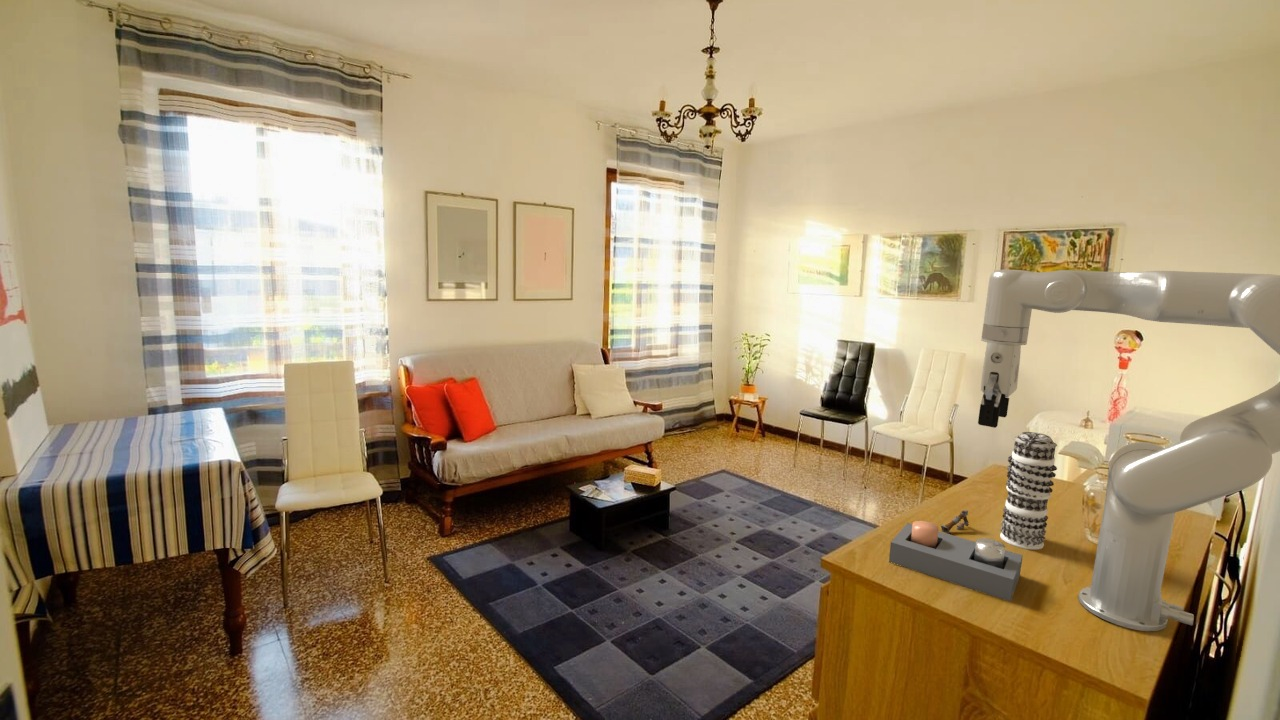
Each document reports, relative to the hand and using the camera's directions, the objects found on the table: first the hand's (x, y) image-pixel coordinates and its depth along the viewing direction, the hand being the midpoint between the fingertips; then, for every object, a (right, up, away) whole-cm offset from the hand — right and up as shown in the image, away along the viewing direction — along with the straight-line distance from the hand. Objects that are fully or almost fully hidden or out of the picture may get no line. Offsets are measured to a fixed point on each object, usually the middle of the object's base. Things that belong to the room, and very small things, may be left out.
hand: (992, 420), depth 116 cm
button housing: (-5, -31, +5) cm, 32 cm away
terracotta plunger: (-9, -27, +9) cm, 30 cm away
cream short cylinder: (0, -28, +1) cm, 29 cm away
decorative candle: (+17, -29, +18) cm, 39 cm away
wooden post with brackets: (+5, -28, +23) cm, 37 cm away
